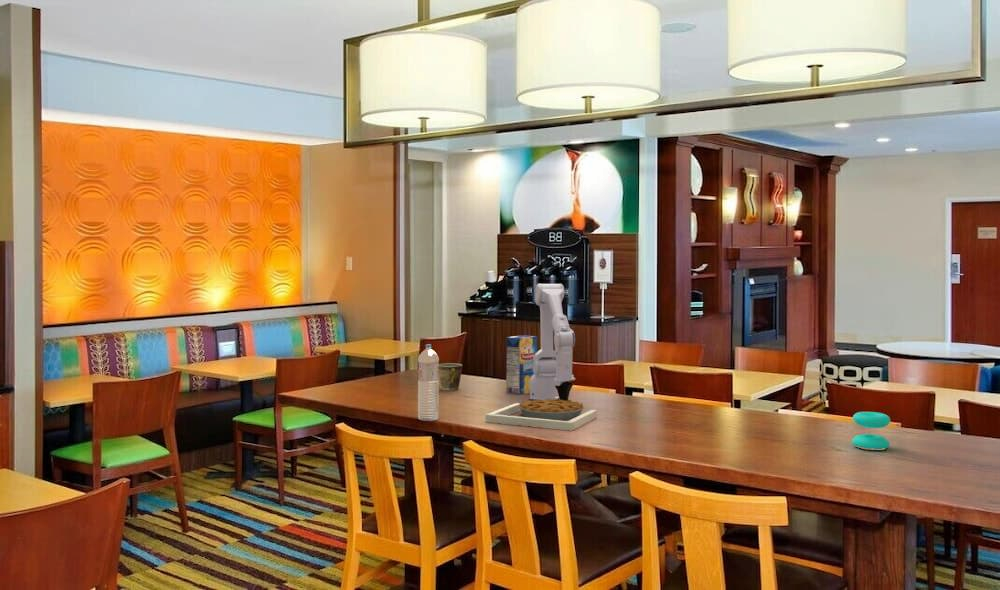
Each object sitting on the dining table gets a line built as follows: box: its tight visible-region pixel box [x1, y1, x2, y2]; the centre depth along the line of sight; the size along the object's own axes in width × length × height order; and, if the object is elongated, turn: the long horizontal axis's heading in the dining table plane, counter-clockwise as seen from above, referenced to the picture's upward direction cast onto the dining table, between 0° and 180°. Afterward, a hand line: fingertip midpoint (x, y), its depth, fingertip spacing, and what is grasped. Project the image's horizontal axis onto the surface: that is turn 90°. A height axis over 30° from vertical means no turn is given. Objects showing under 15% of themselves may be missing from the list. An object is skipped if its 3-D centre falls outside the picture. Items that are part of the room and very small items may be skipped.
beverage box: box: [505, 334, 538, 395], centre depth 355 cm, size 7×11×22 cm, turn 139°
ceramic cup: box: [438, 362, 463, 392], centre depth 358 cm, size 13×10×10 cm
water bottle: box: [417, 343, 440, 422], centre depth 297 cm, size 7×7×25 cm
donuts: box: [851, 411, 891, 449], centre depth 260 cm, size 10×10×10 cm
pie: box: [519, 398, 585, 421], centre depth 306 cm, size 22×22×5 cm
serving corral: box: [485, 402, 598, 432], centre depth 299 cm, size 30×24×2 cm
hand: (563, 403), depth 317 cm, fingers closed
